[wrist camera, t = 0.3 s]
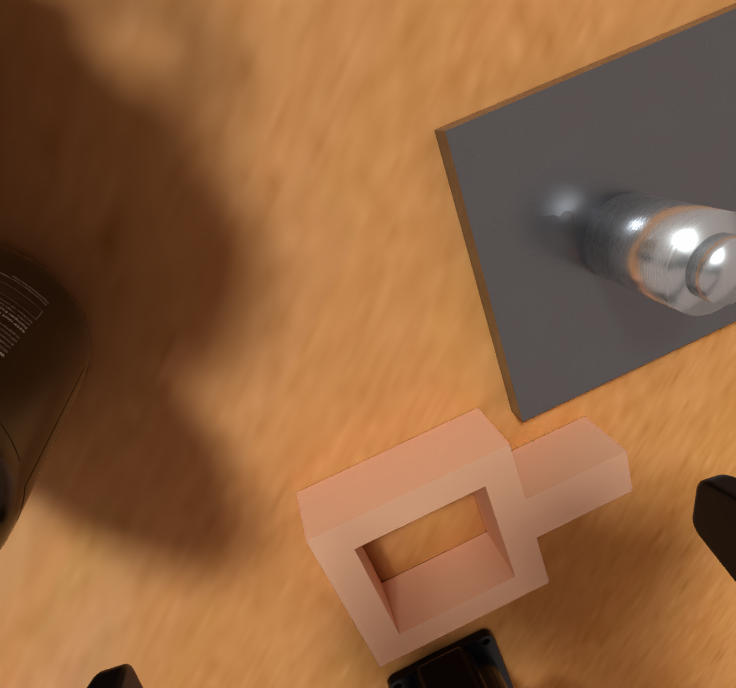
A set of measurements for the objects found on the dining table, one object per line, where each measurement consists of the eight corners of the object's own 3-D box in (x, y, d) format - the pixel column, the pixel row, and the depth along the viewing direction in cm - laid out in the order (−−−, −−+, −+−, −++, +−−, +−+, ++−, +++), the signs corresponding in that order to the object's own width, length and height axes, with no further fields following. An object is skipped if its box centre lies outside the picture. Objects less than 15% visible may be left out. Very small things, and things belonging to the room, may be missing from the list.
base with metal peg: (802, 273, 26) (961, 318, 21) (511, 410, 25) (596, 497, 19) (814, -30, 20) (1042, -84, 15) (434, 129, 19) (525, 138, 13)
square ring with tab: (600, 497, 29) (639, 537, 26) (364, 613, 28) (380, 667, 25) (574, 362, 25) (617, 392, 22) (296, 492, 24) (306, 541, 21)
